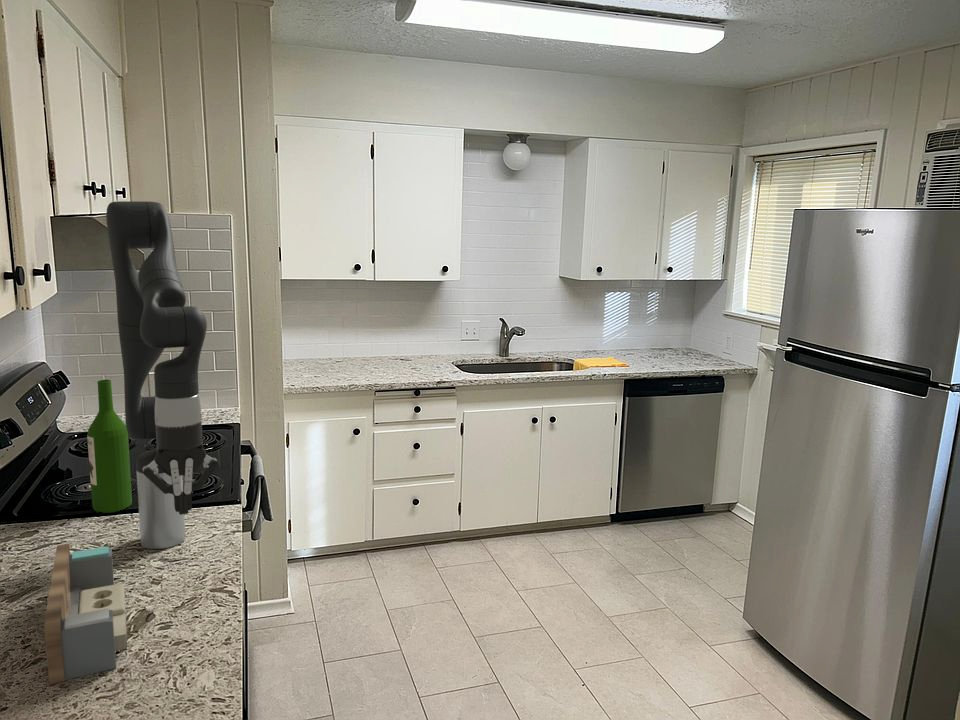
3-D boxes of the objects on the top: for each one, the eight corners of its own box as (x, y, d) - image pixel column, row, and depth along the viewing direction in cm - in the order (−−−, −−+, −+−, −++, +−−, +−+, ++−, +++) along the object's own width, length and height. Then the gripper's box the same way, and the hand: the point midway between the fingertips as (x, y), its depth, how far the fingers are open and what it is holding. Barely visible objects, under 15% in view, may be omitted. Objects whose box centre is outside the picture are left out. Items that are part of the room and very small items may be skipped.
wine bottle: (87, 506, 179) (78, 380, 174) (125, 497, 185) (117, 376, 180) (99, 516, 173) (89, 385, 168) (137, 507, 179) (129, 381, 174)
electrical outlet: (76, 638, 113) (80, 589, 129) (77, 662, 114) (81, 610, 130) (125, 628, 116) (123, 582, 132) (127, 651, 117) (125, 602, 133)
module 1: (73, 594, 135) (69, 551, 133) (114, 586, 138) (111, 544, 137) (72, 603, 131) (68, 560, 130) (114, 595, 134) (111, 553, 133)
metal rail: (72, 603, 131) (70, 585, 131) (81, 601, 132) (80, 584, 131) (66, 666, 112) (64, 645, 111) (76, 663, 113) (75, 643, 112)
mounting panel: (61, 595, 134) (56, 545, 133) (73, 592, 135) (69, 543, 134) (49, 685, 107) (44, 624, 106) (64, 681, 108) (59, 621, 106)
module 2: (66, 666, 112) (61, 615, 111) (115, 655, 115) (112, 606, 114) (64, 680, 108) (60, 628, 107) (115, 668, 112) (112, 617, 110)
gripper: (215, 411, 131) (219, 500, 134) (136, 418, 125) (142, 511, 128) (221, 421, 124) (224, 514, 127) (137, 428, 118) (143, 526, 121)
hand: (183, 512), depth 127 cm, fingers closed
